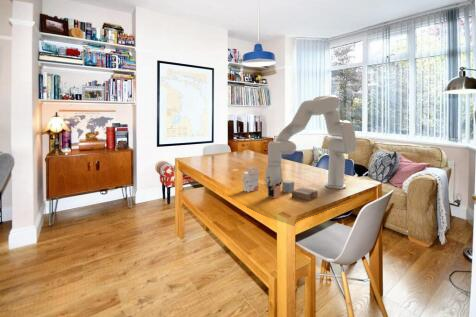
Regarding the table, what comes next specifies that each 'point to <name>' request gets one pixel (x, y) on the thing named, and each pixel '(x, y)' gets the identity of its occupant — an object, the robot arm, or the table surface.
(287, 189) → the slate grey block
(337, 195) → the table surface
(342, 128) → the robot arm
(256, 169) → the ink cartridge box
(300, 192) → the walnut block
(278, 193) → the terracotta block
